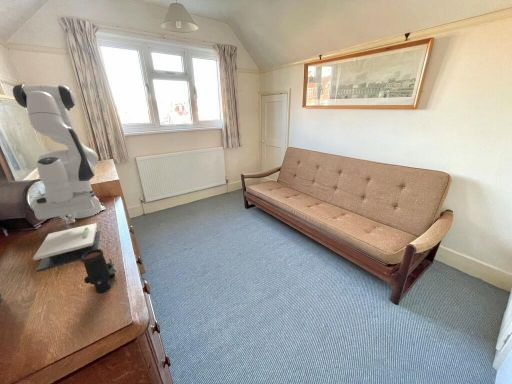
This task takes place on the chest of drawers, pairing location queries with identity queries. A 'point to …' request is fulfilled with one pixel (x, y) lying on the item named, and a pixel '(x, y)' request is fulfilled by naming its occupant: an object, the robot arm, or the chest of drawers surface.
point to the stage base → (67, 256)
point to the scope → (98, 270)
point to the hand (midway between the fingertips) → (71, 222)
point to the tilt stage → (66, 241)
